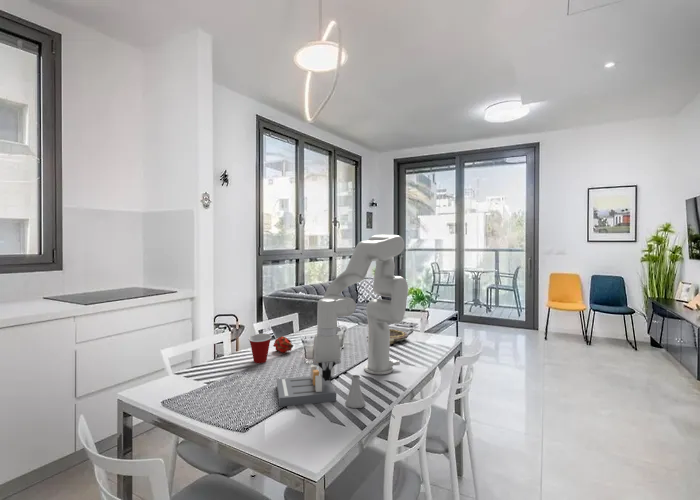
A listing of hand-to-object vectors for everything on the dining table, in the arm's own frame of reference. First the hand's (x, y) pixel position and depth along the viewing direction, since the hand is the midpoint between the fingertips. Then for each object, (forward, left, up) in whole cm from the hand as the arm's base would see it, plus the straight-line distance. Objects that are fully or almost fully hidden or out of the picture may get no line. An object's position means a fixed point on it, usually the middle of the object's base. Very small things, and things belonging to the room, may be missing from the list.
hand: (326, 379), depth 142 cm
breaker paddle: (+4, 0, -1) cm, 4 cm away
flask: (-8, +13, -5) cm, 16 cm away
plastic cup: (+24, -41, -5) cm, 48 cm away
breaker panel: (+8, 0, -5) cm, 9 cm away
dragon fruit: (+12, -54, -5) cm, 56 cm away
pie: (-50, -65, -6) cm, 82 cm away
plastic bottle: (-3, -15, -5) cm, 16 cm away
